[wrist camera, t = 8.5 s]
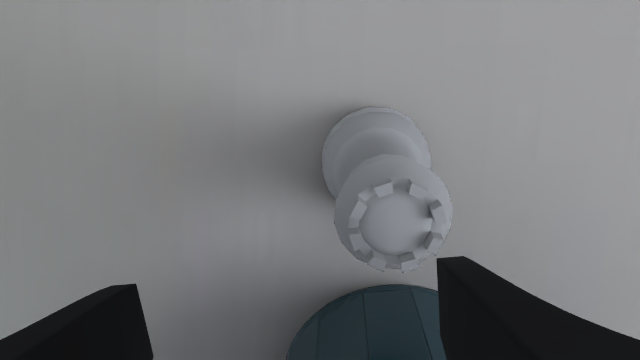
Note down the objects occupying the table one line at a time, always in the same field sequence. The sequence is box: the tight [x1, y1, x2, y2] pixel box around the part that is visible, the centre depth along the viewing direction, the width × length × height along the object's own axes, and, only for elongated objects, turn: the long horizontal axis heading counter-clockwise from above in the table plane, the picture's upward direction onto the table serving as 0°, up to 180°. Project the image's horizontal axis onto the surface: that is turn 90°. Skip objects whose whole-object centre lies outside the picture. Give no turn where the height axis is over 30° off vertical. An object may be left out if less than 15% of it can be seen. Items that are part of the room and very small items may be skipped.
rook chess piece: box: [322, 107, 453, 273], centre depth 15 cm, size 4×4×8 cm
